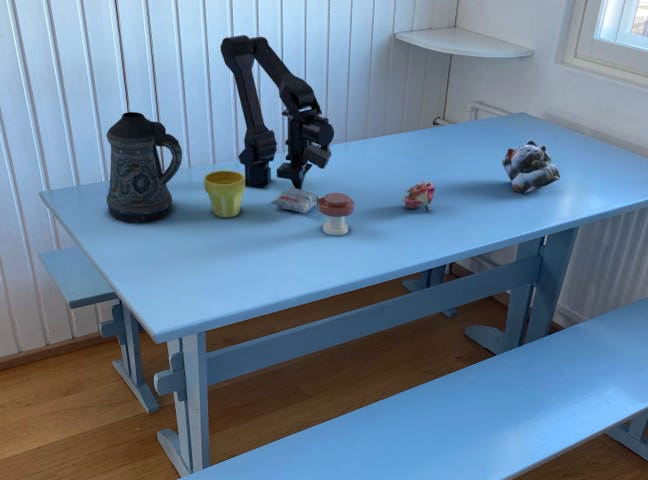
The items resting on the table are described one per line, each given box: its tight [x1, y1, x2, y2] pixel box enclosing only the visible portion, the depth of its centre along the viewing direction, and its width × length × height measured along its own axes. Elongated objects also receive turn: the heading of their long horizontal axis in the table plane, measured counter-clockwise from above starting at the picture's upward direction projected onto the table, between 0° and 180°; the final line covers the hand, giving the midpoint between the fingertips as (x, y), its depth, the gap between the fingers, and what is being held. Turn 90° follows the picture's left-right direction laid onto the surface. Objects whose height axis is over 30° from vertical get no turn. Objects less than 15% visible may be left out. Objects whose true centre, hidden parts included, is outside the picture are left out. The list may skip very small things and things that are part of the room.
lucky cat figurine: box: [501, 140, 561, 195], centre depth 216 cm, size 15×12×14 cm
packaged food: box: [268, 187, 321, 214], centre depth 196 cm, size 9×12×5 cm
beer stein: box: [105, 111, 183, 224], centre depth 186 cm, size 16×19×25 cm
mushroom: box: [317, 192, 355, 236], centre depth 186 cm, size 9×9×9 cm
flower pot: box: [203, 169, 246, 218], centre depth 191 cm, size 10×10×10 cm
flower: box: [401, 180, 435, 212], centre depth 199 cm, size 10×9×8 cm
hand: (298, 191), depth 201 cm, fingers closed
